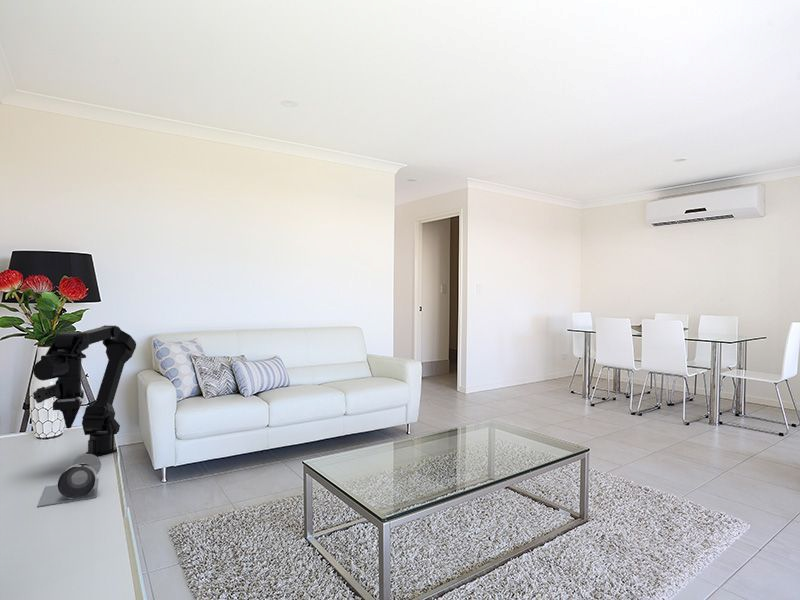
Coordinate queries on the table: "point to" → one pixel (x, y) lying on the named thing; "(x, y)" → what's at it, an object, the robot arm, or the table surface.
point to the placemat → (54, 496)
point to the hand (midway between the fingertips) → (68, 428)
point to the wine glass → (79, 477)
